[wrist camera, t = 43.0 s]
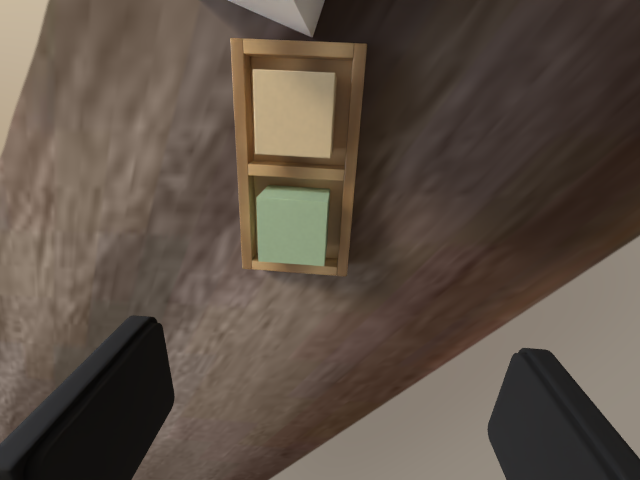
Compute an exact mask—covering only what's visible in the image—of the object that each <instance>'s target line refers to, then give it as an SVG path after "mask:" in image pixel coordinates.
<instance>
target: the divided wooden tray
mask: <svg viewBox="0 0 640 480" xmlns="http://www.w3.org/2000/svg"><path fill="white" fill-rule="evenodd" d="M230 41H231V60H232V79H233V98H234V117H235V136H236V154H237V173H238V192H239V211H240V230H241V249H242V268H243V269H255V270H268V271H281V272H295V273H308V274H322V275H335V276H336V275H337V276H347V269H348V257H349V246H350V235H351V223H352V212H353V201H354V189H355V178H356V167H357V155H358V144H359V133H360V122H361V110H362V99H363V88H364V76H365V65H366V54H367V44H363V43H340V42H316V41H291V40H266V39H240V38H231V39H230ZM253 69H262V70H283V71H305V72H327V73H335V74H336V77H337V86H336V103H335V120H334V137H333V151H332V155H331V158H314V157H296V156H279V155H262V154H255V130H254V97H253ZM268 185H277V186H293V187H309V188H325V189H330V203H329V220H328V237H327V250H326V258H325V265H324V266H314V265H300V264H287V263H273V262H259V261H258V233H257V201H256V197H257V196H258V195H259V194H260V193H261V192H262V191H263V190H264V189H265V188H266V187H267V186H268Z"/></svg>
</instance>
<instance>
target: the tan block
mask: <svg viewBox="0 0 640 480" xmlns="http://www.w3.org/2000/svg"><path fill="white" fill-rule="evenodd" d="M336 86H337V77H336V74H335V73H327V72H305V71H283V70H262V69H253V97H254V130H255V154H262V155H279V156H296V157H314V158H331V155H332V151H333V137H334V120H335V103H336Z"/></svg>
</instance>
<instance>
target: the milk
mask: <svg viewBox="0 0 640 480" xmlns="http://www.w3.org/2000/svg"><path fill="white" fill-rule="evenodd" d="M228 1H230V2H232V3H234V4H237V5H239V6H241V7H244V8H246V9H248V10H250V11H253V12H255V13H257V14H259V15H262V16H264V17H266V18H269V19H271V20H273V21H275V22H278V23H280V24H282V25H284V26H287V27H289V28H291V29H293V30H296V31H298V32H300V33H303V34H305V35H307V36H309V37H312V38H313V35H314V32H315V29H316V26H317V23H318V19H319V16H320V13H321V10H322V7H323V4H324V1H325V0H228Z"/></svg>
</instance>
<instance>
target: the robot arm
mask: <svg viewBox="0 0 640 480" xmlns="http://www.w3.org/2000/svg"><path fill="white" fill-rule="evenodd" d="M173 403H174V389H173V384H172V378H171V372H170V367H169V361H168V355H167V349H166V344H165V338H164V332H163V327H162V325H161V324H160V323H157V320H156V319H155V318H154V317H146V316H130V317H129V318H127V319H126V320H125V321H124V322H123V323H122V324H121V325H120V326H119V327H118V328H117V329H116V330H115V331H114V332H113V333H112V334H111V335H110V336H109V337H108V338H107V339H106V340H105V341H104V342H103V343H102V344H101V345H100V346H99V347H98V348H97V349H96V350H95V351H94V352H93V353H92V354H91V355H90V356H89V357H88V358H87V359H86V360H85V361H84V362H83V363H82V364H81V365H80V366H79V367H78V368H77V369H76V370H75V371H74V372H73V373H72V374H71V375H70V376H69V377H68V378H67V379H66V380H65V381H64V382H63V383H62V384H61V385H60V386H59V387H58V388H57V389H56V390H55V391H54V392H52V393H51V394H50V395H49V396H48V397H47V398H46V399H45V400H44V401H43V402H42V403H41V404H40V405H39V406H38V407H37V408H36V409H35V410H34V411H33V412H32V413H31V414H30V415H29V416H28V417H27V418H26V419H25V420H24V421H23V422H22V423H21V424H20V425H19V426H18V427H17V428H16V429H15V430H14V431H13V432H12V433H11V434H10V435H9V436H8V437H7V438H6V439H5V440H4V441H3V442H2V443H1V444H0V480H131V479H132V478H133V476H134V474H135V472H136V470H137V469H138V467H139V465H140V463H141V462H142V460H143V458H144V456H145V455H146V453H147V451H148V449H149V448H150V446H151V444H152V442H153V441H154V439H155V437H156V435H157V434H158V432H159V430H160V428H161V427H162V425H163V423H164V421H165V419H166V418H167V416H168V414H169V412H170V411H171V409H172V406H173ZM488 436H489V440H490V442H491V445H492V447H493V449H494V452H495V454H496V456H497V459H498V461H499V463H500V466H501V468H502V470H503V473H504V475H505V477H506V480H640V459H639V458H638V456H637V455H636V454H635V453H634V451H633V450H632V449H631V448H630V447H629V445H628V444H627V443H626V442H625V441H624V440H623V438H622V437H621V436H620V435H619V433H618V432H617V431H616V430H615V428H614V427H613V426H612V425H611V424H610V422H609V421H608V420H607V419H606V418H605V416H604V415H603V414H602V413H601V412H600V410H599V409H598V408H597V407H596V406H595V404H594V403H593V402H592V401H591V400H590V398H589V397H588V396H587V395H586V394H585V392H584V391H583V390H582V389H581V388H580V386H579V385H578V384H577V383H576V382H575V380H574V379H573V378H572V377H571V376H570V374H569V373H568V372H567V371H566V369H565V368H564V367H563V366H562V365H561V363H560V362H559V361H558V360H557V359H556V357H555V356H554V355H553V354H552V353H551V352H550V351H548V350H542V349H530V348H522V349H521V350H520V351H519V352H518V353H515V354H514V355H513V356H512V358H511V361H510V364H509V367H508V370H507V372H506V375H505V378H504V381H503V384H502V386H501V389H500V392H499V395H498V398H497V401H496V404H495V406H494V409H493V412H492V415H491V418H490V421H489V423H488Z"/></svg>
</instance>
